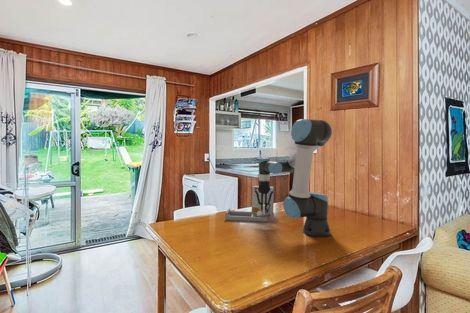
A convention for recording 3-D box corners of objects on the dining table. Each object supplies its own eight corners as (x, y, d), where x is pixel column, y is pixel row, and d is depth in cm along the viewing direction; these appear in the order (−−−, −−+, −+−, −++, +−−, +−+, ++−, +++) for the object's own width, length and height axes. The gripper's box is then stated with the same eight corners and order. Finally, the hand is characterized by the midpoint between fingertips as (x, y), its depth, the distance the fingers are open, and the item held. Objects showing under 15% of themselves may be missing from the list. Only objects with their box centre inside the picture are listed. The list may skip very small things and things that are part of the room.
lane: (267, 216, 182) (267, 209, 182) (267, 222, 168) (267, 214, 168) (228, 214, 186) (228, 208, 186) (225, 220, 173) (225, 213, 172)
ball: (263, 214, 177) (260, 209, 178) (263, 215, 173) (260, 210, 174) (259, 217, 178) (255, 212, 178) (258, 218, 174) (255, 213, 174)
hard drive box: (251, 213, 191) (251, 186, 190) (253, 210, 198) (253, 185, 198) (272, 215, 187) (272, 187, 186) (273, 212, 194) (274, 186, 193)
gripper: (274, 179, 177) (273, 213, 178) (255, 179, 179) (254, 212, 180) (273, 181, 170) (273, 216, 171) (254, 180, 172) (253, 215, 173)
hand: (263, 214), depth 176 cm, fingers closed
